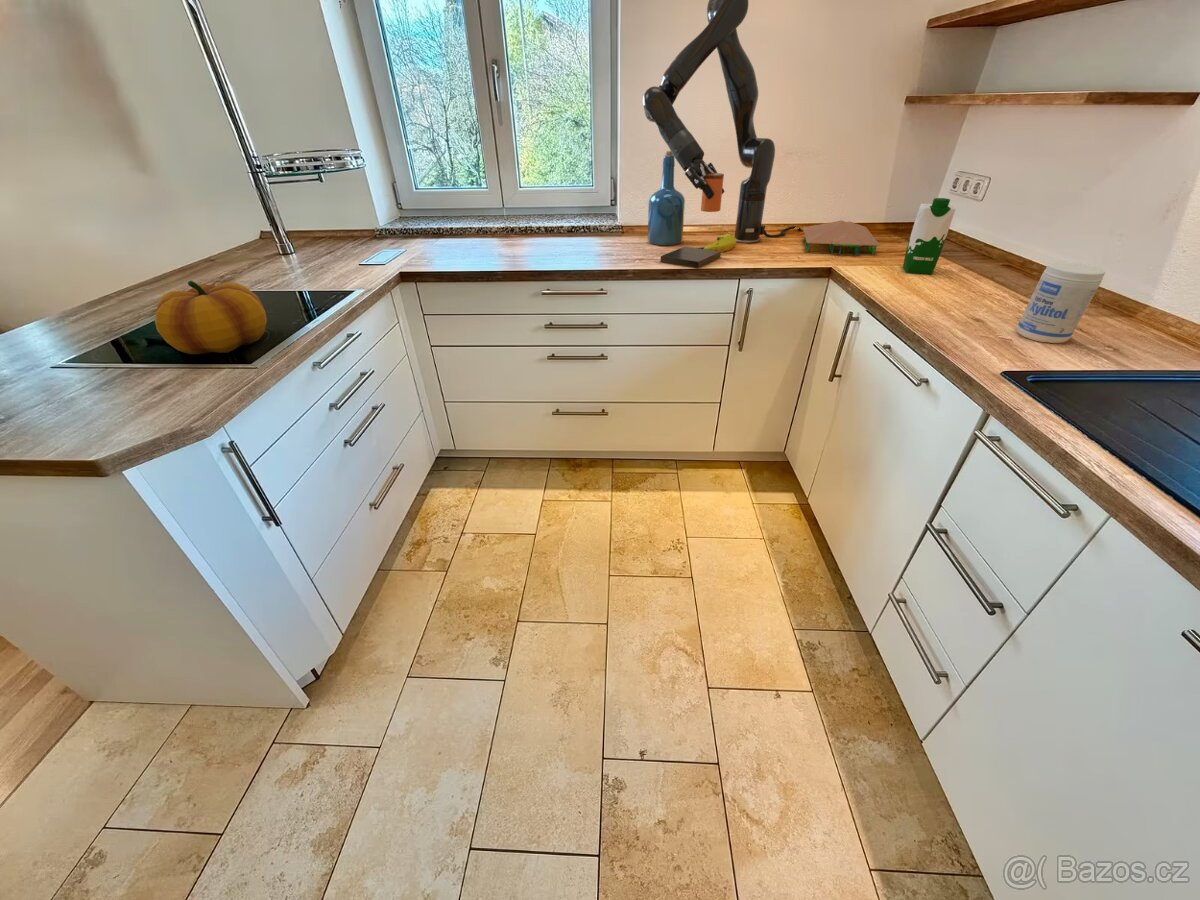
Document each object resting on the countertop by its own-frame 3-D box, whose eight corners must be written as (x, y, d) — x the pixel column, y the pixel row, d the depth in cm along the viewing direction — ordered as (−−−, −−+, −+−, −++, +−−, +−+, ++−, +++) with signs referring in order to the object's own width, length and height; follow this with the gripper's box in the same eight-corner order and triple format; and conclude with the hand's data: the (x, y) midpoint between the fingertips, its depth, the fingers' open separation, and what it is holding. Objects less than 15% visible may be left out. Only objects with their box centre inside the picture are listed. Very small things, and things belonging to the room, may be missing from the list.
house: (805, 254, 173) (810, 229, 169) (800, 234, 199) (804, 211, 195) (878, 257, 168) (886, 231, 163) (863, 236, 194) (869, 213, 190)
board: (684, 252, 180) (684, 246, 179) (720, 257, 173) (721, 251, 172) (660, 262, 169) (660, 256, 168) (697, 268, 162) (698, 261, 161)
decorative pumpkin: (254, 360, 110) (223, 290, 101) (147, 366, 109) (107, 296, 100) (293, 326, 126) (269, 264, 118) (201, 331, 125) (171, 269, 117)
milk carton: (903, 273, 152) (925, 200, 141) (899, 265, 159) (920, 195, 148) (936, 275, 150) (961, 201, 139) (930, 267, 157) (954, 196, 146)
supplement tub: (1012, 337, 111) (1043, 268, 102) (1017, 324, 117) (1048, 258, 108) (1068, 348, 105) (1106, 276, 97) (1071, 334, 111) (1107, 265, 103)
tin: (706, 207, 163) (709, 172, 157) (723, 209, 160) (727, 173, 154) (697, 210, 159) (700, 174, 153) (714, 212, 156) (718, 175, 150)
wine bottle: (684, 246, 188) (691, 152, 171) (648, 246, 188) (651, 153, 171) (680, 237, 199) (685, 149, 182) (646, 238, 199) (648, 150, 182)
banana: (733, 230, 189) (692, 236, 191) (739, 236, 174) (695, 244, 177) (734, 242, 191) (693, 249, 194) (740, 250, 176) (696, 257, 179)
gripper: (682, 141, 148) (715, 189, 149) (705, 138, 157) (736, 183, 158) (665, 161, 154) (697, 208, 154) (689, 157, 163) (719, 201, 164)
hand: (716, 195), depth 156 cm, fingers closed on tin, 6 cm apart
